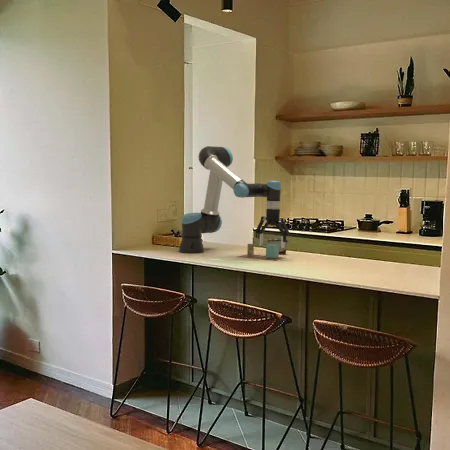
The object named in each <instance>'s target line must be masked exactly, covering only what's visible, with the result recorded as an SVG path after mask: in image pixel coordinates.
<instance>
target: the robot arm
mask: <svg viewBox="0 0 450 450" xmlns="http://www.w3.org/2000/svg"><path fill="white" fill-rule="evenodd" d="M233 160H234V157H233V153H232V151H231V150H230V149H229V148H228V147H225V146H210V145H209V146H205V147H202V149H201V150H200V151H199V153H198V161H199V163H200V165H201V166H203V168H205V169H206V170H209V175H208V180H207V187H206V194H205V200H204V206H203V208H202V209H201V210H200V212H189V213H185V214H183V215H182V217H181V219H182V220H181V242H180V244H179V247H178V252H179V253H184V254H200V253H204V252H205V247H204V244H203V241H202V235H203V234H213V233H216V232H218V231H219V230H220V229H221V228H222V224H223V222H222V221H223V220H222V217H221V215H220V212H219V211H218V209H219V203H220V198H221V192H222V186H223V182H224V183H225V184H226V185H227V186H229V187H230V188H231V189H232V190H233V194H234V196H235V197H236V198H266V207H265V208H266V209H265V212H266V213H265V214H266V216H261V217H260V221H259V222H258V225H257V227H256V229H255V233H257V234H258V238H257V239H258V240H259V246H263V245H264V231H265V230H266V229H267V228H268V226H273V227H274V226H275V227H277V229H278V230H279V232H280V234H281V237H280V238H281V248H285V242H286V239H287V236H289V235H290V231H289V229H288V226H287V223H286V219H285V217H281V218H280V216H281V209H280V208H281V191H282V186H281V185H282V184H281V181H280V180H267V181H266V183H259V182H255V183H253V182H252V183H247V182H246V181H245V180H243V179H242V178H241V177H240V176H238V175H237V174H236V173H235V172H234V171H233V170H231V169H230V168H229V166H231V165H232V163H233ZM265 221H266V222H265ZM264 222H265V223H264Z"/></svg>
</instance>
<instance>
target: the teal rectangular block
mask: <svg viewBox="0 0 450 450" xmlns="http://www.w3.org/2000/svg"><path fill="white" fill-rule="evenodd" d="M265 256H266V257H272V258H275V257H280V256H279V245H275V244H269V245H268V244H266V245H265Z"/></svg>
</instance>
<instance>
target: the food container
mask: <svg viewBox="0 0 450 450" xmlns="http://www.w3.org/2000/svg"><path fill="white" fill-rule="evenodd" d="M267 243H268V244H267V245H269V244H275V245H279V255H280V256H281V255H282V256H283V255H285V256H286V254H287V248H288V247H287V246H288V243H289V239H288V238H286V242H285V248H281V237H271V238H267Z"/></svg>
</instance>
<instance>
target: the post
mask: <svg viewBox="0 0 450 450" xmlns="http://www.w3.org/2000/svg"><path fill="white" fill-rule="evenodd" d="M254 247H255V245H254V243H247V249H246V250H247V256H250V257H252V256H254V255H255V254H254V253H255V252H254V251H255V249H254Z"/></svg>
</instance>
